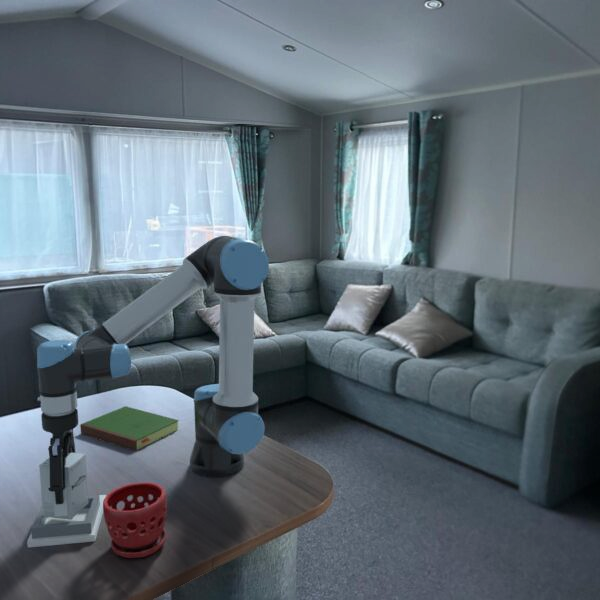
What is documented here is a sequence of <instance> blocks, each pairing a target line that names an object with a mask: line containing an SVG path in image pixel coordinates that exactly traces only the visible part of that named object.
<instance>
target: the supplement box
mask: <svg viewBox="0 0 600 600" xmlns="http://www.w3.org/2000/svg"><path fill="white" fill-rule="evenodd" d="M62 454H64V453H62ZM38 466H39V467H38V468H39V477H40V478H39V479H40V491H41V493H40V494H41V507H42V508H43V516H45V517H52V518H60V519H69V520H72V519H73V518H74V516H75V515H76V514H77V513H78V512H79V511H81V510H82V509H83V508H84V507H85V506H86V505H87V504H88V496H89V492H88V491H89V490H88V489H89V488H88V473H87V457H86V453H82V452H76V453H68V456H67V457H66V465H65V487H67V501H68V516H58V517H55V512H54V499H53V492H50V491H49V490H48V488H50V461H49V457H48V458H47V459H46V460H44V461H43V462H42V463H40V464H39V465H38Z"/></svg>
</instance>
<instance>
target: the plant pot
mask: <svg viewBox="0 0 600 600" xmlns="http://www.w3.org/2000/svg"><path fill="white" fill-rule="evenodd" d="M166 494H167V493H166V490H165V488H164V487H163V486H161V485H159V484H157V483H154V482H144V481H143V482H135V483H129V484H125V485H122V486H120V487H117V488H115V489H114V490H112V491H110V492H109V493H108V494H106V497H105V499H104V501H103V518H104V521H105V525H106V527H107V531H108V534H109V535H110V538H111V543H110V546H111V549H112V551H113V552H114V553H115V554H117V555H118V556H120V557H123V558H127V559H139V558H143V557H146V556H149V555H151V554H153V553H156V552H157V551H158V550H159V549H160V548H161V547H162V546H163V545H164V544H165V542H166V539H167V531H166V529H165V525H166V520H167V511H168V510H167V509H168V507H167V495H166ZM150 495H151V496H152V498H150V497H149V496H150ZM129 496H132V499H130V500H129V499H128V498H129ZM139 497H142V500H141V501H140V500H138V498H139ZM120 502H123V503H124V507H123V508H122V509H118V504H119V503H120ZM132 504H134V506H132ZM145 504H148V505H147V506H146V505H145Z"/></svg>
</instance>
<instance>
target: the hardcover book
mask: <svg viewBox="0 0 600 600" xmlns="http://www.w3.org/2000/svg"><path fill="white" fill-rule="evenodd" d="M178 422H179V419H175V418H171V417H167V416H164V415H161V414H156V413H153V412H148V411H145V410H141V409H138V408H134V407H130V406H127V405H125V406H123V407H120V408H118V409H115V410H112V411H110V412H108V413H105V414H103V415H101V416H98V417H96V418H92V419H91V420H88V421H85V422H83V423H80V424H79V426H80V435H82V434H83V436H86V435H87V436H86V437H89V436H91V437H90V438H92V437H94V438H93V439H95V438H97V439H96V440H99V439H101V440H100V441H102V440H104V441H103V442H105V441H106V442H105V443H108V442H109V443H108V444H111V443H112V445H116V446H118V447H121V448H124V449H128V450H131V451H134V452H137V451H138V450H139V449H142V448H144V447H146V446H148V445H150V444H152V443H154V442H156V441H158V440H160V439H162V438H164V437H167V436H168V435H171V434H173V433H174V431H175V432H176V430H177V431H179V426H178V424H179V423H178ZM172 432H173V433H172ZM170 433H171V434H170ZM161 437H162V438H161ZM159 438H160V439H159Z"/></svg>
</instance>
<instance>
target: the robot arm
mask: <svg viewBox="0 0 600 600" xmlns="http://www.w3.org/2000/svg"><path fill="white" fill-rule="evenodd" d="M269 269H270V264H269V258H268V255H267V253H266V251H265V249H263V248H262V246H261V245H260V244H258V243H256V242H255V241H253V240H251V239H248V238H244V237H235V236H230V235H220V236H217V237H214V238H212V239H210V240H208V241H207V242H206V243H204V244H203V245H201V246H200V247H198V248H197V249H196V250H195V251H193V252H192V253H190V254H189V255H188V256H186V257H185V258H184V259H182V265H181V266H179V267H178V268H177V269H175V270H174V271H172V272H171V273H170V274H169V275H167V276H166V277H164V278H163V279H162V280H160V281H159V282H158V283H156V284H155V285H153V286H152V287H151V288H149V289H147V290H146V291H144V293H142V294H141V295H139V297H137V298H136V299H134V300H133V301H132V302H130V303H129V304H128V305H126V306H125V307H123V308H122V309H121V310H119V311H118V312H116V314H114V315H112V316H111V317H109V318H108V319H107V320H105V321H104V322H102V324H100V325H99V326H97V327H96V328H94V329H93V330H87V331H84V332H82V333H80V334H79V335H78V337H77V338H76V340H75V345H74V343H73V341H71V340H69V339H67V340H66V339H61V340H60V339H55V340H54V339H53V340H48V341H45V342H42V343H40V344H39V346H37V350H36V356H37V357H36V360H37V362H36V363H37V364H36V366H37V375H38V387H39V396H38V397H37V401H38V402H40V411H41V412H42V413H41V416H40V417H41V428H42V430H43V431H44V432H46V433H51V435H52V437H50V440H49V444H50V445H49V446H48V455H49V457H48V458H49V461H50V488H48V490H49V491H50V492H53V499H54V512H55V517H58V516H68V501H67V487H65V465H66V457H67V456H68V453H77V452H76V445H75V443H76V442H75V439H74V438H75V436H74V429H75V428H76V427H78V425H79V412H78V393H77V383H83V382H93V381H100V380H108V379H116V378H121V377H124V376H128V375H129V374H130V373H131V368H132V359H131V358H132V356H131V351H130V348H129V346H128V345H127V344H128V343H129V342H131V341H132V340H133V339H135V338H136V337H137V336H139V335H140V334H141V333H142V332H144V331H145V330H147V329H148V328H150V327H151V326H152V325H153V324H154V323H156V322H158V321H159V320H160V319H161V318H163V317H164V316H165V315H166V314H168V313H170V312H171V311H172V310H174V309H175V308H176V307H177V306H179V305H180V304H182V303H184V301H185V300H187V299H188V298H190V297H191V296H192V295H194V294H195V293H196V292H198V291H199V290H200V289H202V290H207V289H208V288H209V287H210V286H212V285H213V294H214V295H215V296H216V297H217V298H218V299H219V338H218V339H219V346H218V347H219V350H218V352H219V353H218V383H214V384H208V385H207V384H206V385H202V386H200V387H198V388H196V389H195V391H194V394H193V395H194V396H193V398H194V399H193V404H194V410H193V411H194V431H195V436H194V437H195V438H194V439H195V441H194V444H193V448H192V451H191V454H190V456H189V468H190V470H191V471H192V472H193V473H194V474H196V475H200V476H202V477H210V478H211V477H212V478H213V477H214V478H216V477H224V476H229V475H232V473H233V474H235V473H237V472H238V470H239V471H240V470H242V469H243V467H244V466H243V465H245V455H244V454H247V453H249V452H251V451H252V450H254V449H256V447H257V446H258V445H259V444H260V443H261V442H262V440H263V438H264V435H265V429H266V428H265V427H266V426H265V422H264V421H263V419H262V416H261V415H260V414H259V396H257V394H256V393H255V392H254V391H253V389H254V388H253V386H254V385H253V383H254V379H253V378H254V339H255V338H254V337H255V335H254V334H255V332H254V331H255V301H256V299H257V298H259V296H260V295H261V292H262V284H263V282H264V281H265V280H266V278H267V276H268V274H269ZM62 453H64V454H62Z"/></svg>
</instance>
